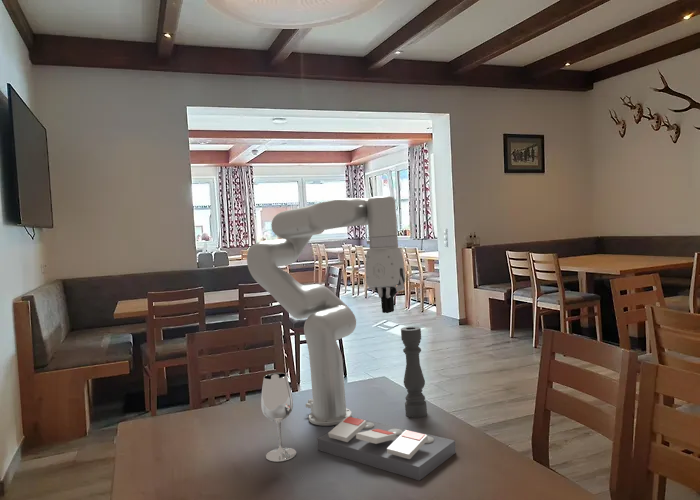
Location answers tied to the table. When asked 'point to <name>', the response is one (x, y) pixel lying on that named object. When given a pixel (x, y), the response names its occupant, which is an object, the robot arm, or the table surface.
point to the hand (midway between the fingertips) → (388, 312)
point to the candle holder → (413, 373)
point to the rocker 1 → (347, 429)
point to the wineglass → (277, 410)
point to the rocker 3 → (407, 444)
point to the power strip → (378, 456)
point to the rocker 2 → (376, 436)
